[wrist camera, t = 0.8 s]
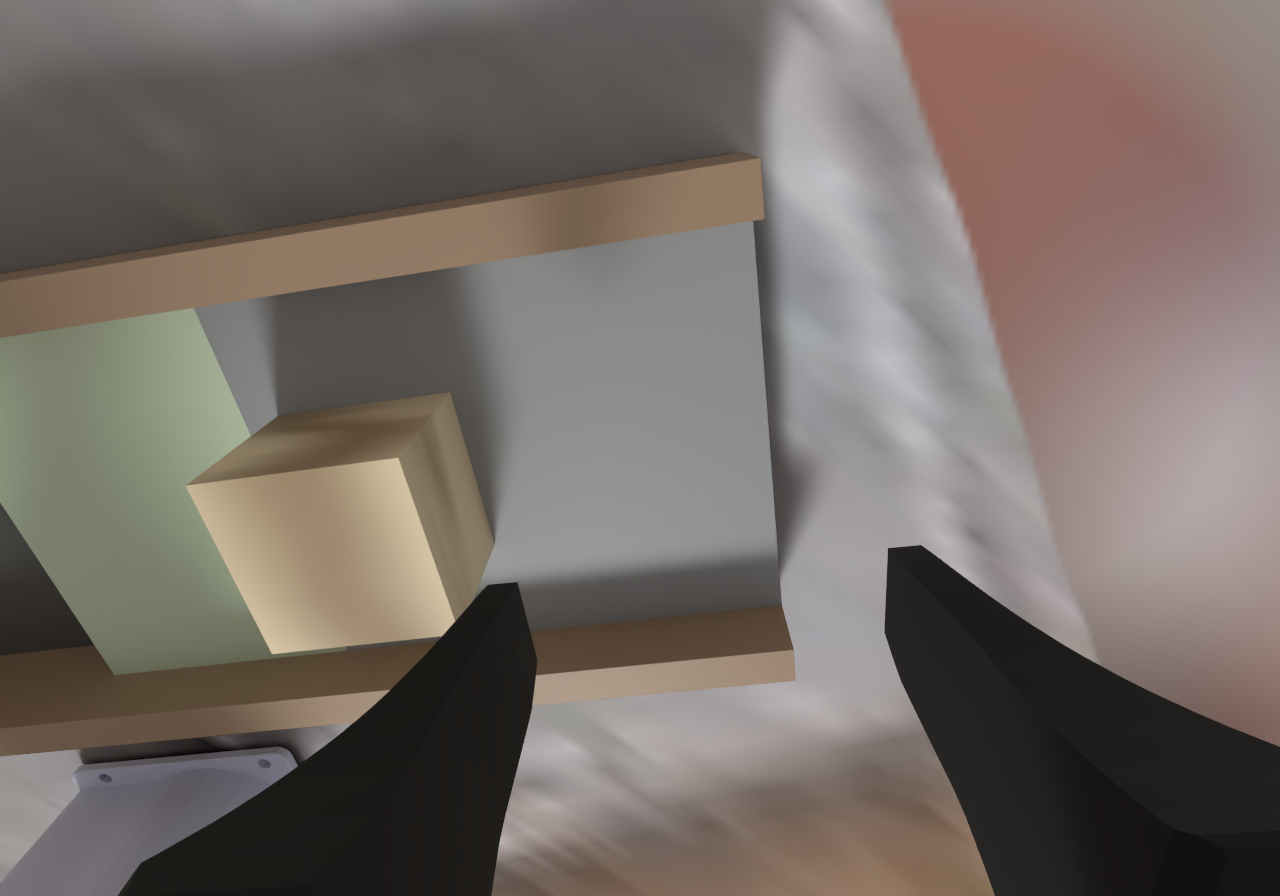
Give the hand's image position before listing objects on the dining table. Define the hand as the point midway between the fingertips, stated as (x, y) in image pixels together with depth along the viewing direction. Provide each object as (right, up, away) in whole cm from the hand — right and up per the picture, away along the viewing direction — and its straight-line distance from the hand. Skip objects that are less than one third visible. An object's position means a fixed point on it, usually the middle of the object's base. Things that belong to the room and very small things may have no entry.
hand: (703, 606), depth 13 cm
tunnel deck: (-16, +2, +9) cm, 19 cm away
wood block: (-9, +2, +6) cm, 11 cm away
